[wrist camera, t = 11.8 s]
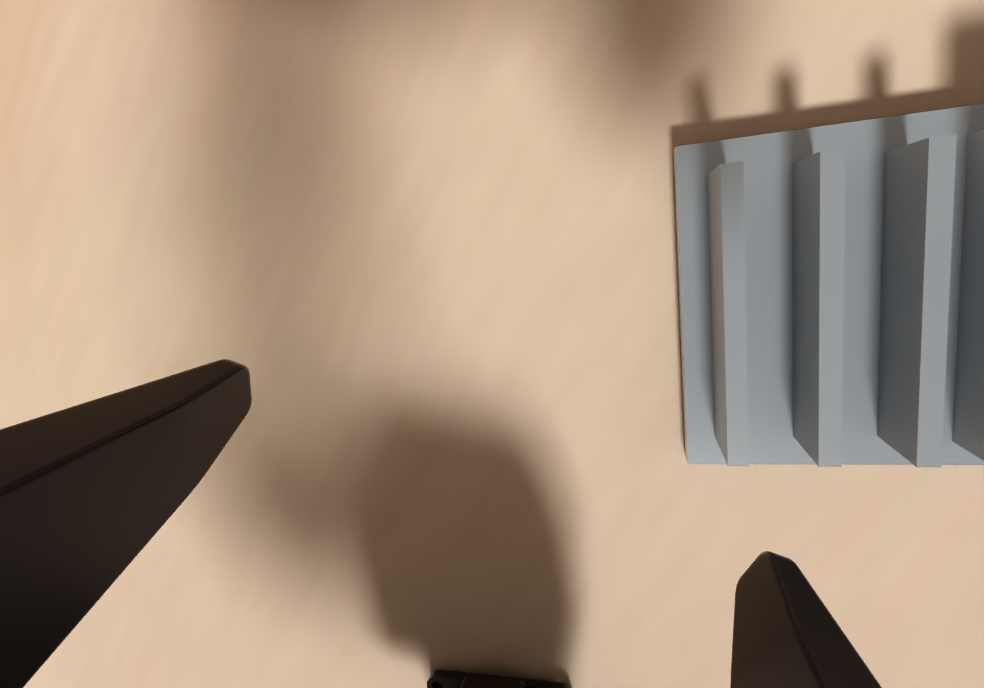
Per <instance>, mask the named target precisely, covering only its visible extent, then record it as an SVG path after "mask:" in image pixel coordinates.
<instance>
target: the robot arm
mask: <svg viewBox="0 0 984 688" xmlns="http://www.w3.org/2000/svg"><path fill="white" fill-rule="evenodd" d="M250 406H251V386H250V374H249V370H248V368H247V367H246V366H245V365H242V364H239V363H237V362H234V361H231V360H227V359H223V360H219V361H216V362H212V363H209V364H206V365H203V366H200V367H197V368H193V369H190V370H187V371H184V372H181V373H178V374H174V375H171V376H168V377H165V378H162V379H159V380H155V381H152V382H149V383H146V384H143V385H140V386H137V387H133V388H130V389H127V390H124V391H121V392H118V393H114V394H111V395H108V396H105V397H102V398H99V399H95V400H92V401H89V402H86V403H83V404H80V405H77V406H73V407H70V408H67V409H64V410H61V411H58V412H54V413H51V414H48V415H45V416H42V417H39V418H35V419H32V420H29V421H26V422H23V423H20V424H16V425H13V426H10V427H7V428H4V429H1V430H0V688H23V687H24V686H25V685H26V683H27V682H28V681H29V680H30V679H31V678H32V676H33V675H34V674H35V673H36V672H37V671H38V670H39V668H40V667H41V666H42V665H43V664H44V663H45V661H46V660H47V659H48V658H49V657H50V656H51V654H52V653H53V652H54V651H55V650H56V649H57V647H58V646H59V645H60V644H61V643H62V642H63V640H64V639H65V638H66V637H67V636H68V635H69V634H70V632H71V631H72V630H73V629H74V628H75V627H76V625H77V624H78V623H79V622H80V621H81V620H82V618H83V617H84V616H85V615H86V614H87V613H88V611H89V610H90V609H91V608H92V607H93V606H94V604H95V603H96V602H97V601H98V600H99V599H100V598H101V596H102V595H103V594H104V593H105V592H106V591H107V589H108V588H109V587H110V586H111V585H112V584H113V582H114V581H115V580H116V579H117V578H118V577H119V575H120V574H121V573H122V572H123V571H124V570H125V569H126V567H127V566H128V565H129V564H130V563H131V562H132V560H133V559H134V558H135V557H136V556H137V555H138V553H139V552H140V551H141V550H142V549H143V548H144V546H145V545H146V544H147V543H148V542H149V541H150V539H151V538H152V537H153V536H154V535H155V534H156V533H157V531H158V530H159V529H160V528H161V527H162V526H163V524H164V523H165V522H166V521H167V520H168V519H169V517H170V516H171V515H172V514H173V513H174V512H175V510H176V509H177V508H178V507H179V506H180V505H181V503H182V502H183V501H184V500H185V499H186V498H187V497H188V495H189V494H190V493H191V492H192V491H193V489H194V488H195V487H196V486H197V484H198V483H199V482H200V480H201V479H202V478H203V476H204V475H205V474H206V472H207V471H208V469H209V468H210V467H211V465H212V464H213V462H214V461H215V459H216V458H217V457H218V455H219V454H220V452H221V451H222V449H223V448H224V446H225V445H226V444H227V442H228V441H229V439H230V438H231V436H232V435H233V433H234V432H235V431H236V429H237V428H238V426H239V425H240V423H241V422H242V421H243V419H244V418H245V416H246V415H247V413H248V411H249V409H250ZM436 681H437V682H440V683H441V684H438V683H437V682H436ZM427 688H569V687H568V686H566V685H565V684H562V683H558V682H548V681H539V680H529V679H520V678H510V677H501V676H492V675H482V674H473V673H463V672H454V671H445V670H435V671H433V672H432V673H431V675H430V677H429V679H428V681H427ZM731 688H882V687H881V686H880V685H879V683H878V682H877V680H876V679H875V677H874V676H873V674H872V673H871V672H870V670H869V669H868V667H867V666H866V664H865V663H864V661H863V660H862V659H861V657H860V656H859V654H858V653H857V651H856V650H855V648H854V647H853V646H852V644H851V643H850V641H849V640H848V638H847V637H846V635H845V634H844V633H843V631H842V630H841V628H840V627H839V625H838V624H837V622H836V621H835V620H834V618H833V617H832V615H831V614H830V612H829V611H828V609H827V608H826V607H825V605H824V604H823V602H822V601H821V599H820V598H819V597H818V595H817V594H816V592H815V591H814V589H813V588H812V586H811V585H810V584H809V582H808V581H807V579H806V578H805V576H804V575H803V573H802V572H801V571H800V569H799V568H798V566H797V565H796V564H795V563H794V562H793V561H792V560H791V559H789V558H786V557H783V556H780V555H778V554H775V553H772V552H768V551H766V552H763V553H761V554H760V555H759V556H758V557H757V558H756V560H755V561H754V562H753V563H752V564H751V566H750V567H749V568H748V569H747V570H746V571H745V573H744V574H743V575H742V576H741V578H740V579H739V581H738V584H737V587H736V593H735V609H734V627H733V645H732V663H731Z"/></svg>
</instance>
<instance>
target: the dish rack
mask: <svg viewBox="0 0 984 688" xmlns="http://www.w3.org/2000/svg"><path fill="white" fill-rule="evenodd" d="M673 153H674V179H675V204H676V230H677V255H678V281H679V306H680V332H681V357H682V383H683V408H684V434H685V456H686V460H687V463H688V464H727V465H728V466H749V464H812V465H818V467H841V465H915V466H916V467H941V465H984V104H977V105H970V106H963V107H956V108H949V109H941V110H934V111H927V112H920V113H913V114H905V115H898V116H891V117H884V118H877V119H869V120H862V121H855V122H848V123H841V124H833V125H826V126H819V127H812V128H805V129H797V130H790V131H783V132H776V133H769V134H761V135H754V136H747V137H740V138H733V139H725V140H718V141H711V142H704V143H697V144H689V145H682V146H675V148H674V150H673Z"/></svg>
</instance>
